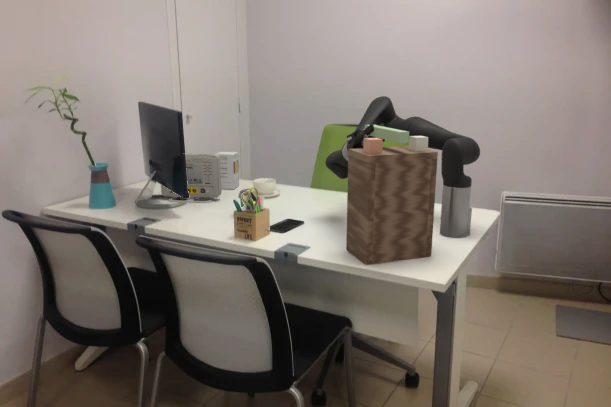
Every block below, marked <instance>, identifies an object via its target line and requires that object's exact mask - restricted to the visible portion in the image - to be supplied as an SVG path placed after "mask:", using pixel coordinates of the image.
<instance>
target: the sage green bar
mask: <svg viewBox="0 0 611 407" xmlns="http://www.w3.org/2000/svg"><path fill="white" fill-rule="evenodd" d="M368 126H369V125H365V128H367V127H368ZM369 136H373V137H378V138H382V139H385V141H391V142H395V143H398V144H401V143H402V144H403V143H405V144H407V143H409V132H408V131H403V130H398V129H393V128H388V127H383V126H378V125H375V124H374V131H373V132H372V133H371V134H370V135H369Z"/></svg>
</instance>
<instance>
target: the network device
mask: <svg viewBox="0 0 611 407" xmlns="http://www.w3.org/2000/svg"><path fill="white" fill-rule="evenodd" d="M184 154H185V155H186V168H187V181H188V191H189V195H190V198H189V199H188V198H187V199H188V200H187V199H186V200H179V199H182V198H181V197H180V196H179V195H177V194H175V193H173V192H172V191H170V190H169V189H167V188H166V187H164V186H163V185H161V184H160V190H161V195H162V196H163V197H171V198H169V199H168V201H169V203H183V202H186V203H189V204H190V203H192V204H198V203H199V204H209V203H212V202H213V201H214V200H215V199H216V198H219V197H220V196H221V195H222V189H221V165H220V156H219V155H217V153H214V154H213V153H184ZM178 197H180V198H178ZM173 199H174V200H173ZM177 199H178V200H177ZM199 199H200V200H199ZM201 199H205V200H201ZM207 199H208V200H207ZM186 203H185V204H186Z"/></svg>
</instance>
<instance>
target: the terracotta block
mask: <svg viewBox="0 0 611 407" xmlns="http://www.w3.org/2000/svg"><path fill="white" fill-rule="evenodd" d="M383 143H384V142H383V139H379V138H364V145H363V152H364V153H368V154H381V153H382V147H383Z"/></svg>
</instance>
